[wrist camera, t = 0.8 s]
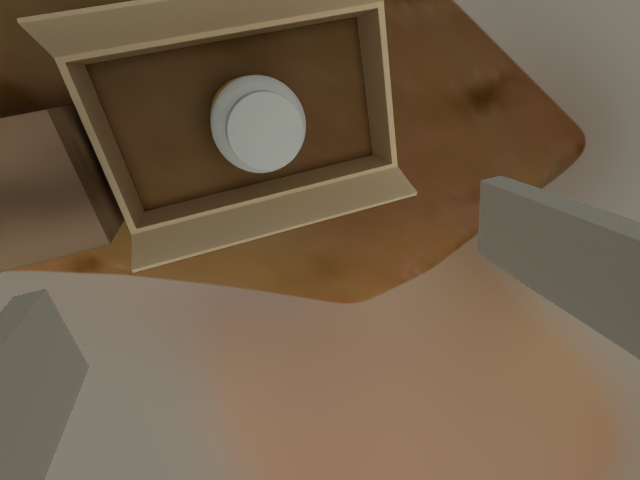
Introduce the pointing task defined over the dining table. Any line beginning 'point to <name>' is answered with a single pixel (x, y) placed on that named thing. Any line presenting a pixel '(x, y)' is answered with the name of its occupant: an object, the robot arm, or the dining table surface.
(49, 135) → the block
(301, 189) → the carton
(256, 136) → the pill bottle
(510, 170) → the dining table surface
